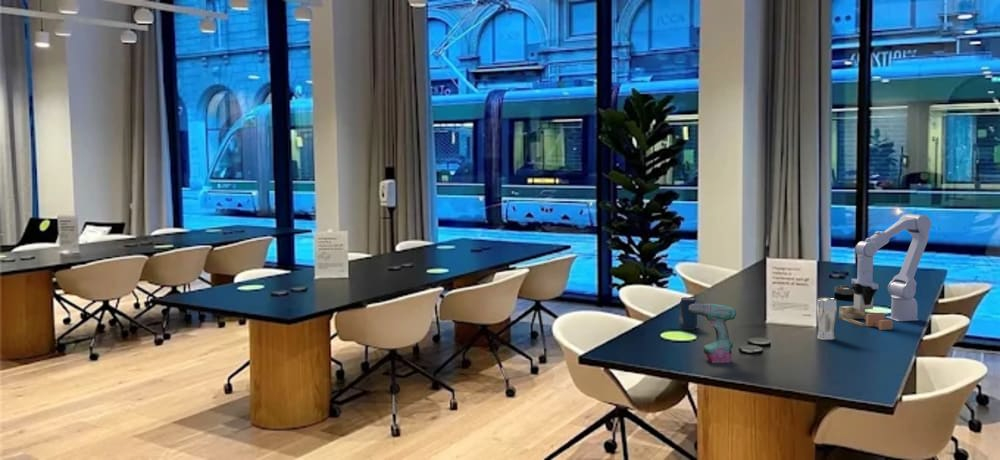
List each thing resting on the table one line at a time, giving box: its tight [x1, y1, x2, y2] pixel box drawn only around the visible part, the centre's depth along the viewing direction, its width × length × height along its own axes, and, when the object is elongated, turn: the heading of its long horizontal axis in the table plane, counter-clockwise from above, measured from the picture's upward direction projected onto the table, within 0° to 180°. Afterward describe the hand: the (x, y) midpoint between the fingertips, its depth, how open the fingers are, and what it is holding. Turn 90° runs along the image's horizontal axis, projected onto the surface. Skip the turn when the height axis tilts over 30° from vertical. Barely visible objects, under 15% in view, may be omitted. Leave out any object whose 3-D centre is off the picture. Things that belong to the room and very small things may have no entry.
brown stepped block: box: [865, 312, 894, 331], centre depth 317 cm, size 7×8×5 cm
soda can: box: [679, 296, 698, 330], centre depth 322 cm, size 7×7×12 cm
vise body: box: [838, 305, 866, 327], centre depth 328 cm, size 10×15×5 cm
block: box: [853, 293, 874, 311], centre depth 326 cm, size 6×4×6 cm, turn 101°
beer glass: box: [816, 297, 838, 341], centre depth 301 cm, size 7×7×15 cm
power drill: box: [689, 303, 737, 364], centre depth 273 cm, size 7×16×20 cm, turn 95°
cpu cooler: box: [833, 285, 856, 302], centre depth 377 cm, size 10×6×10 cm
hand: (864, 303), depth 327 cm, fingers closed on block, 4 cm apart
